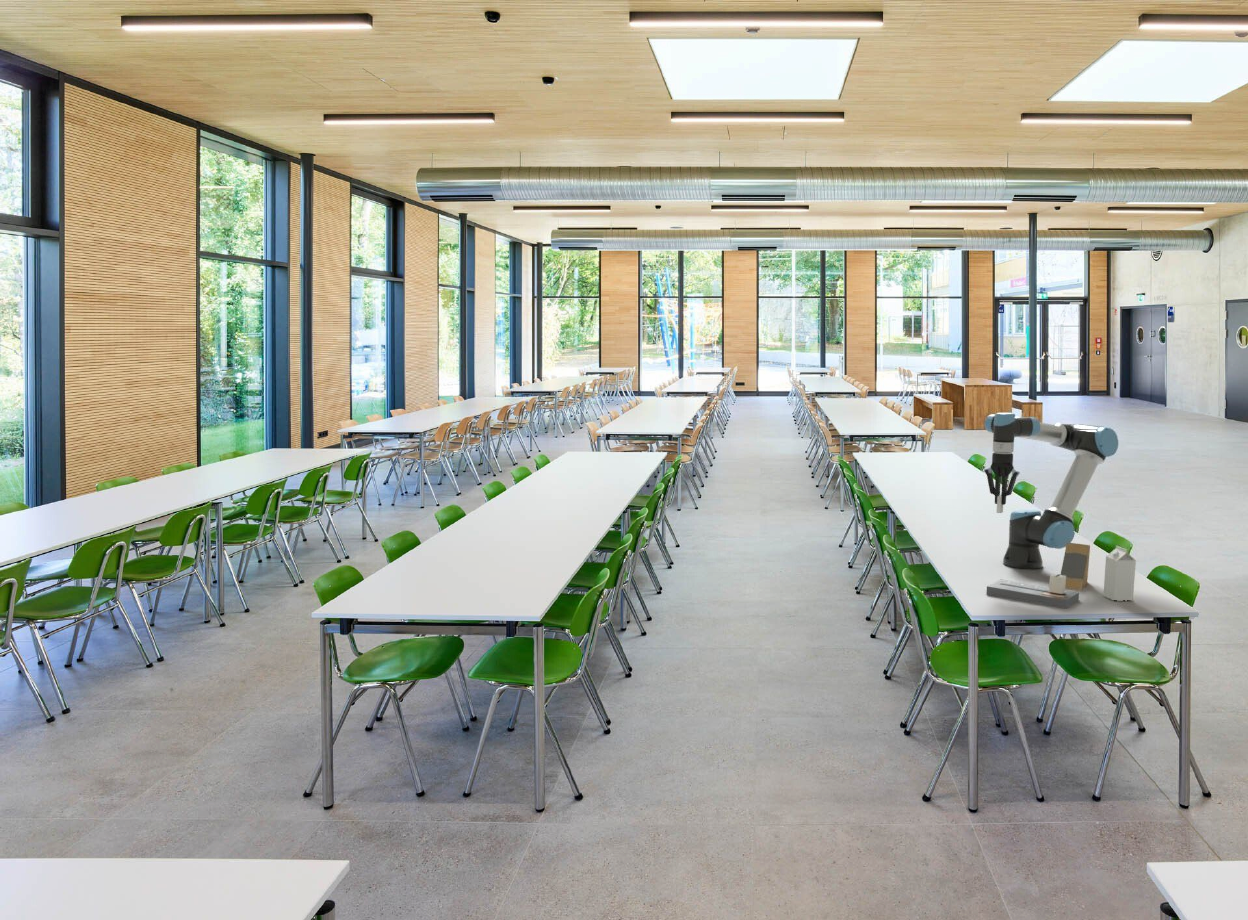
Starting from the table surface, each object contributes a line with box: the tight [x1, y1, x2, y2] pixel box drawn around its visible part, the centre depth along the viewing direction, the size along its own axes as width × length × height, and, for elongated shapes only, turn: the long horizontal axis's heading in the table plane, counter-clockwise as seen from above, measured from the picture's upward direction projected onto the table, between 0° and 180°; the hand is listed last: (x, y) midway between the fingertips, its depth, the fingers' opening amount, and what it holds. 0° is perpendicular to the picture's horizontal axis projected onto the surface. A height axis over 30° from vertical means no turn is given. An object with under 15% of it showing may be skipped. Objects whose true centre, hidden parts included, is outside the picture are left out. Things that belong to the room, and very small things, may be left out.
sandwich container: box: [1060, 542, 1091, 591], centre depth 361 cm, size 9×15×15 cm, turn 146°
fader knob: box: [1048, 573, 1066, 594], centre depth 338 cm, size 4×4×6 cm
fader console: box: [986, 578, 1080, 609], centre depth 344 cm, size 14×28×3 cm, turn 48°
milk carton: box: [1103, 545, 1137, 602], centre depth 341 cm, size 7×7×19 cm
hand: (999, 512), depth 368 cm, fingers closed
